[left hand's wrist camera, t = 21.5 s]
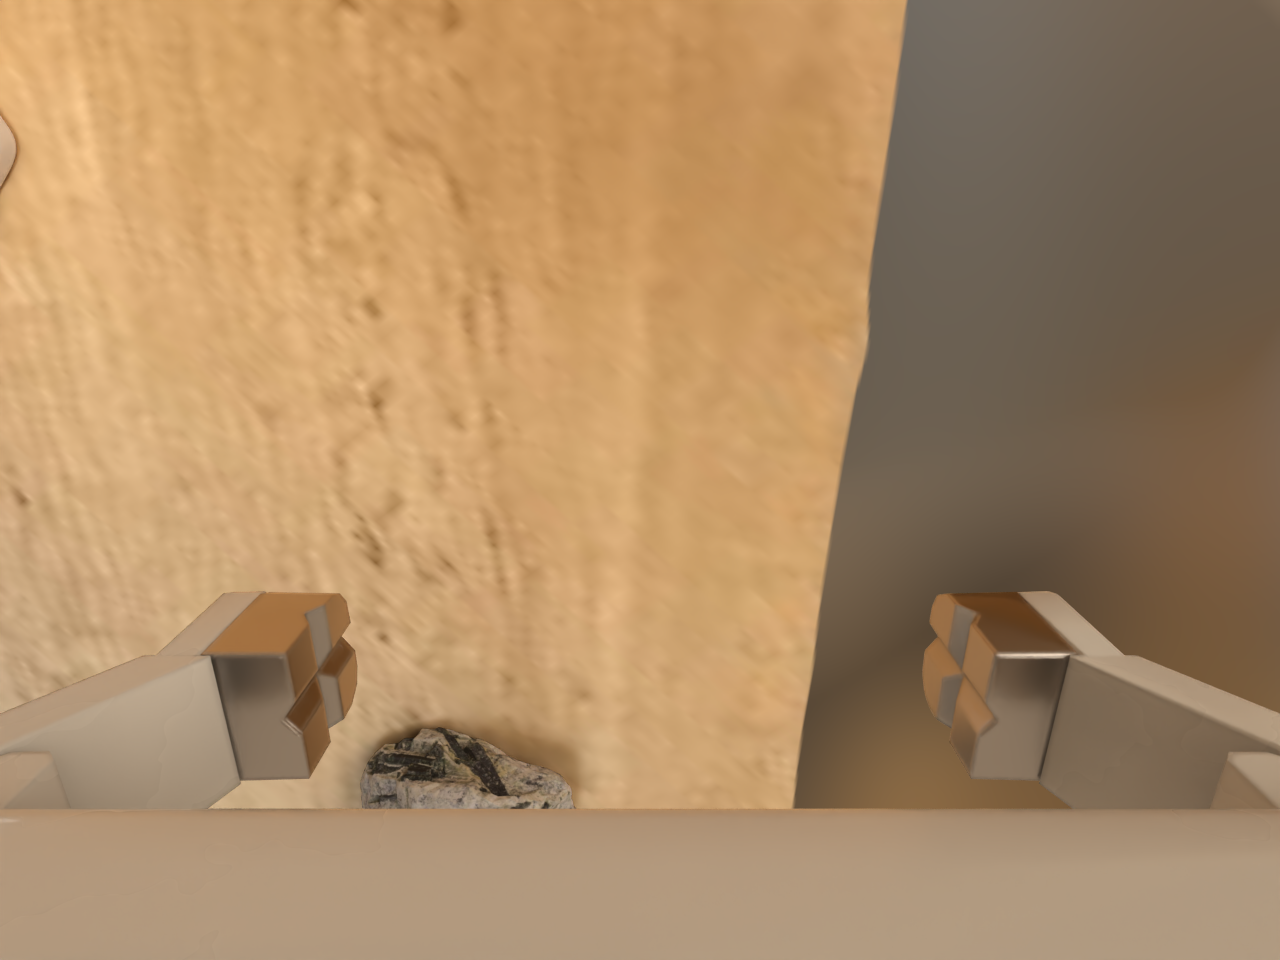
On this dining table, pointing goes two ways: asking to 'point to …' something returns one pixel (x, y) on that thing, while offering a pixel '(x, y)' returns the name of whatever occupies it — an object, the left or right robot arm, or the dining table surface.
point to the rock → (457, 776)
